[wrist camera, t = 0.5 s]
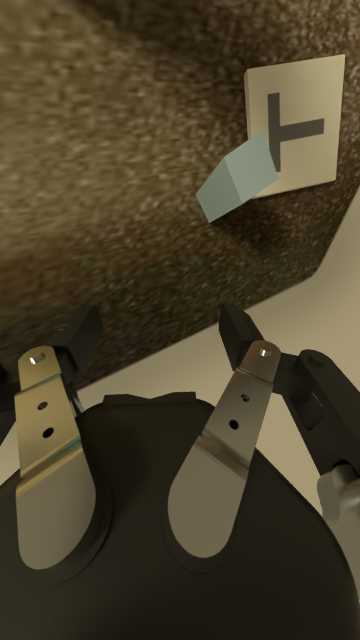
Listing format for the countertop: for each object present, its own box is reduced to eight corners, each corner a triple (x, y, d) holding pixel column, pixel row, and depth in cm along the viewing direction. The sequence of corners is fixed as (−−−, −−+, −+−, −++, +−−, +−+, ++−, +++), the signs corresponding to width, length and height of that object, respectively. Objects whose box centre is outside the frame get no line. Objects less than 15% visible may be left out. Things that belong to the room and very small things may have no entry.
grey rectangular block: (195, 194, 30) (223, 157, 19) (219, 177, 30) (262, 129, 19) (209, 222, 32) (242, 203, 21) (232, 206, 32) (278, 178, 21)
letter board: (243, 75, 26) (247, 69, 26) (338, 61, 28) (345, 54, 27) (251, 199, 32) (255, 197, 31) (330, 181, 34) (335, 179, 33)
